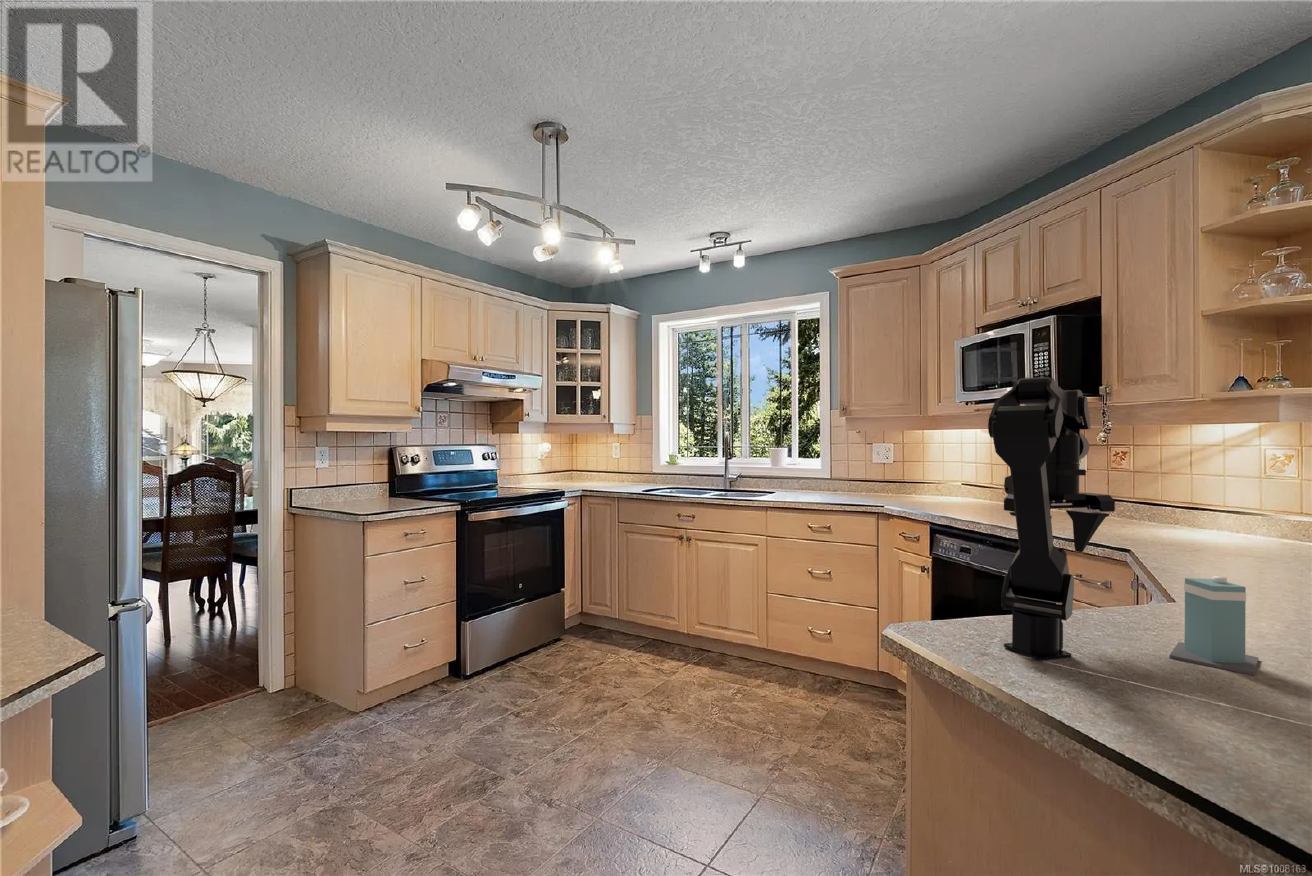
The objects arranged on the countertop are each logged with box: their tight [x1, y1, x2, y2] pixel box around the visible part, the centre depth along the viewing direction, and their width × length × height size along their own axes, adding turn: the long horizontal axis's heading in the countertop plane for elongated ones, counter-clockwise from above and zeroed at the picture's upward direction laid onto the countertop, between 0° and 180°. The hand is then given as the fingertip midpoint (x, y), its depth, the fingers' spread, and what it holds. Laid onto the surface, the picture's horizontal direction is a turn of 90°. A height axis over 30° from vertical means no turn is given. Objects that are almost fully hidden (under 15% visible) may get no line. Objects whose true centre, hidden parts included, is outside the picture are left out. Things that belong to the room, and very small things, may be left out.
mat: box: [1169, 641, 1259, 676], centre depth 89 cm, size 9×9×1 cm
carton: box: [1183, 575, 1247, 663], centre depth 89 cm, size 5×5×12 cm
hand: (1058, 553), depth 104 cm, fingers open, 9 cm apart
